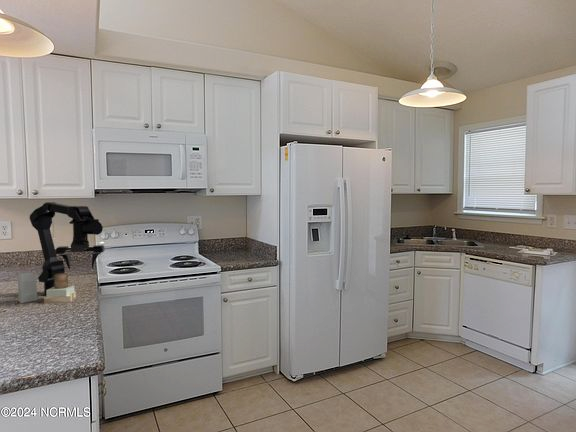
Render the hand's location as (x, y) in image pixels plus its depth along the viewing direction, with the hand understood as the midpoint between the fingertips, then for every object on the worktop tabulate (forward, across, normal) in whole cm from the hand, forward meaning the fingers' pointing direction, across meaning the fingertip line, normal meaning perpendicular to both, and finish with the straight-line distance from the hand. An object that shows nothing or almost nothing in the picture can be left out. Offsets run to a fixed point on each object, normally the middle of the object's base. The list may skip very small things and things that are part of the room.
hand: (81, 268), depth 171 cm
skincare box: (+13, -21, 0) cm, 25 cm away
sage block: (+11, -8, -2) cm, 13 cm away
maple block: (+14, -8, -2) cm, 16 cm away
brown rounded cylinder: (+8, -8, -2) cm, 11 cm away
